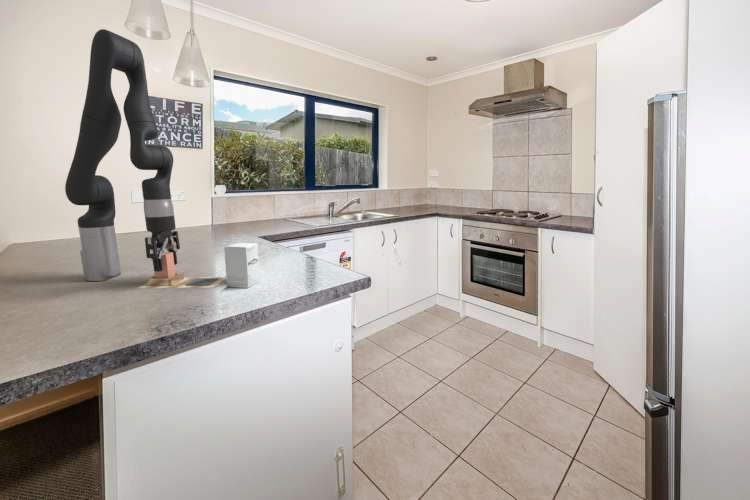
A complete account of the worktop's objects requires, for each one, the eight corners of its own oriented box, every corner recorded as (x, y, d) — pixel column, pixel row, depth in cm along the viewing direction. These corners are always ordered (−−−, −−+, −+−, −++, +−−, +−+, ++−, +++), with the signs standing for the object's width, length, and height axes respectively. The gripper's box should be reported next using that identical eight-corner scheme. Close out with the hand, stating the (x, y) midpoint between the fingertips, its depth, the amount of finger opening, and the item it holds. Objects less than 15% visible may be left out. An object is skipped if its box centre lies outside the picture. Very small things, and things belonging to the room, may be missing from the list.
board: (137, 291, 105) (135, 281, 105) (158, 280, 116) (157, 271, 116) (213, 290, 106) (212, 280, 105) (227, 280, 117) (226, 271, 116)
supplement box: (248, 288, 108) (245, 247, 106) (226, 287, 110) (222, 246, 107) (260, 281, 115) (258, 243, 113) (239, 280, 117) (237, 242, 114)
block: (155, 284, 109) (152, 255, 107) (163, 280, 113) (159, 252, 111) (169, 284, 109) (165, 255, 107) (176, 280, 113) (173, 252, 111)
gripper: (159, 216, 100) (166, 273, 103) (184, 212, 114) (189, 262, 117) (131, 217, 100) (139, 274, 103) (159, 212, 114) (166, 262, 117)
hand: (166, 267), depth 110 cm, fingers open, 8 cm apart
